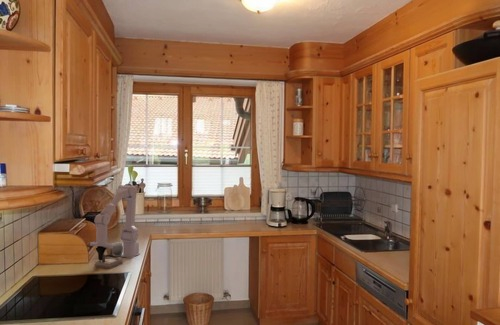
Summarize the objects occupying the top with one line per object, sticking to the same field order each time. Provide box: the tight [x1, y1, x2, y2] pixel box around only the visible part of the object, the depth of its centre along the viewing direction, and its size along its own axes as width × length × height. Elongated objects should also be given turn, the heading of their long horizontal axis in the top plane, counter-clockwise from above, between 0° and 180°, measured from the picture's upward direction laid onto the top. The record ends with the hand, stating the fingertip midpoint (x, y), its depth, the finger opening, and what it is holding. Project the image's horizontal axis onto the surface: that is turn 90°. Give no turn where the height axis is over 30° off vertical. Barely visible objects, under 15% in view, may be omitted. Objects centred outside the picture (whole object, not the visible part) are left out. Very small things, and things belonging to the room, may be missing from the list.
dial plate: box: [94, 256, 123, 270], centre depth 215 cm, size 10×11×3 cm
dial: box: [101, 254, 116, 263], centre depth 215 cm, size 8×8×5 cm
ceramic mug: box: [105, 241, 123, 258], centre depth 236 cm, size 11×8×8 cm
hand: (101, 259), depth 212 cm, fingers closed, pressing on dial
